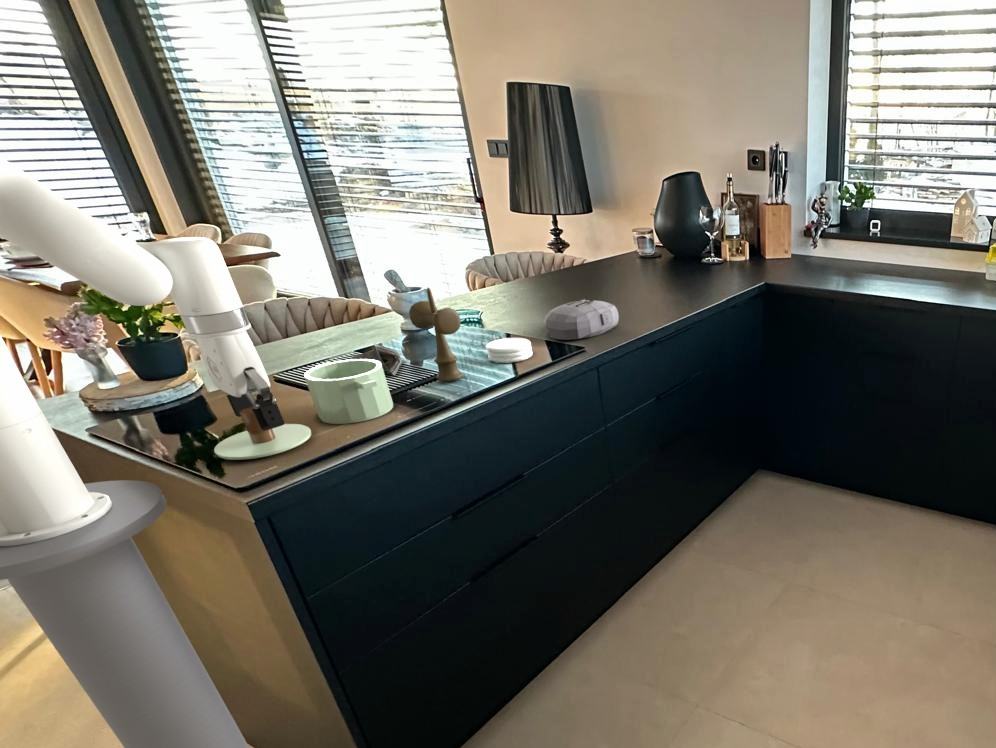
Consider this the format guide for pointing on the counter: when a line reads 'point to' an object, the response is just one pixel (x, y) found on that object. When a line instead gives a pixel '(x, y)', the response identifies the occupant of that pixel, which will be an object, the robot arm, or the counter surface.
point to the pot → (349, 391)
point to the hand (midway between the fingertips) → (260, 420)
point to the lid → (261, 439)
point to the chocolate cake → (383, 358)
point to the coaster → (509, 350)
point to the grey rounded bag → (581, 319)
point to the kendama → (438, 334)
